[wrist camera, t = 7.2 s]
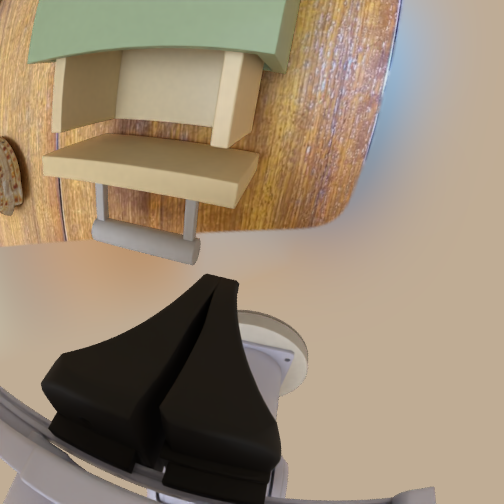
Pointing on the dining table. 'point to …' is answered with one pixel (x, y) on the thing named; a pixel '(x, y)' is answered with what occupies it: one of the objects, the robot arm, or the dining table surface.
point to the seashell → (9, 179)
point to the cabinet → (164, 27)
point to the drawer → (157, 149)
